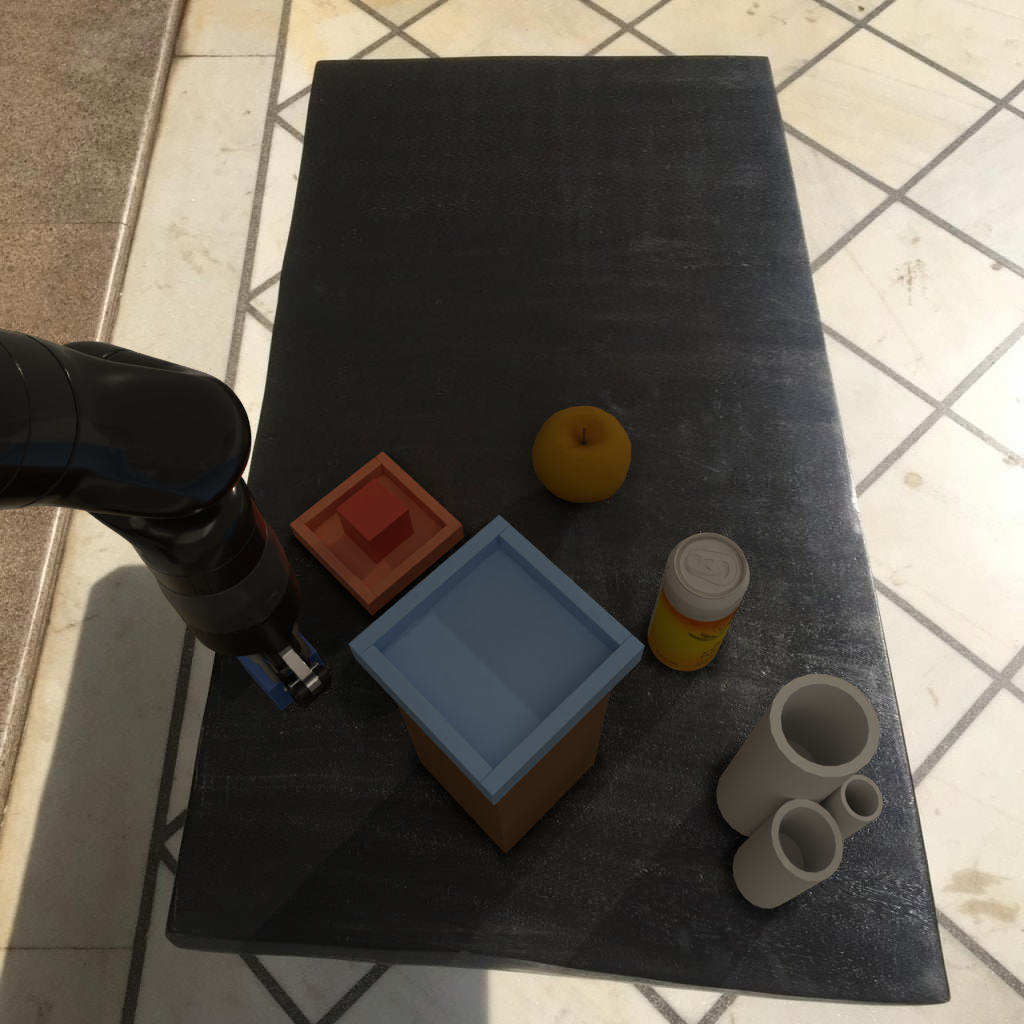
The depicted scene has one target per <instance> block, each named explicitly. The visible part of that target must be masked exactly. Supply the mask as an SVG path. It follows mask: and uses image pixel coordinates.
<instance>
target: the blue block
mask: <svg viewBox="0 0 1024 1024" xmlns="http://www.w3.org/2000/svg"><path fill="white" fill-rule="evenodd" d="M299 634H300V635H301V637H302V638H303V640H304V641H305V643H306V644H307V646H308V647H309V649H310V650H311V654H310V656H309V658H308V660H309V661H310V663H312V664H313V663H314V662H317V663H318V664H321V665H322V666H323V667H325V664H324V663H323V661H322V659H321V657H320V655H319V653H318V651H317V650H316V648H314V647H313V646H312V644H311V643H309V641H308V640H307V639H306V638H305V637H304V636H303V634H301V632H299ZM235 657H236V658H237V660H238V662H240V664H241V666H242V667H243V668H244V670H245V672H246V673H247V674H248V675H249V676H250V677H251V678H252V679H253V680H254V681H255V683H256V684H257V685H258V686H259V687H260V688H261V689H262V691H263V692H264V693H265V694H266V695H267V696H268V697H269V698H270V700H271V702H273V703H274V704H275V705H276V706H277V708H278V709H279V710H280V711H284V710H285V709H287V707H289V705H291V704H292V703H293V702H295V701H294V700H293V699H292V698H291V696H290V694H289V693H288V692H287V693H286V692H285V691H284V689H283V688H282V687H283V685H282V684H281V683H280V682H278V683H273V682H272V681H271V680H270V679H269V677H268V676H267V675H266V674H265V673H264V672H263V671H262V669H261V668H260V667H259V665H258V664H254V663H253V662H252V661H251V660H250V659H249V658H248V657H247V656H235ZM264 659H265V658H264ZM265 660H266V659H265ZM266 661H267V660H266ZM267 663H269V662H268V661H267ZM291 673H292V671H291V672H290V673H289V674H291ZM289 674H288V675H289ZM288 675H287V676H288Z"/></svg>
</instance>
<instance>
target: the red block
mask: <svg viewBox="0 0 1024 1024" xmlns="http://www.w3.org/2000/svg"><path fill="white" fill-rule="evenodd" d="M336 510H337V513H338V516H339V519H340V521H341V524H342V527H343V529H344V532H345V534H346V535H347V536H348V537H349V538H350V539H351V540H352V541H353V542H355V543H356V544H357V545H358V546H359V547H360V548H361V549H362V550H363V551H364V552H365V553H366V554H367V555H368V556H369V557H370V558H371V559H372V560H373V561H374V562H375V563H376V564H377V563H379V562H380V561H381V560H382V559H383V558H385V557H386V556H387V555H388V554H389V553H391V552H392V551H393V550H394V549H395V548H397V547H398V546H399V545H400V544H401V543H403V542H404V541H405V540H406V539H407V538H409V537H410V536H411V535H412V534H413V533H414V531H413V527H412V522H411V518H410V514H409V510H408V508H407V507H406V506H405V505H404V504H403V503H401V502H400V501H399V500H398V499H397V498H396V497H395V496H394V495H393V494H392V493H391V492H390V491H389V490H388V489H387V488H386V487H384V486H383V485H382V484H381V483H380V482H379V481H378V480H377V479H376V478H374V479H373V480H372V481H370V482H369V483H368V484H367V485H365V486H364V487H363V488H362V489H360V490H359V491H358V492H357V493H355V494H354V495H353V496H352V497H350V498H349V499H348V500H347V501H345V502H344V503H343V504H342V505H340V506H339V507H338V508H336Z"/></svg>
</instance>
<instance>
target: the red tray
mask: <svg viewBox="0 0 1024 1024" xmlns="http://www.w3.org/2000/svg"><path fill="white" fill-rule="evenodd" d="M374 478H376V479H377V480H378V481H379V482H380V483H381V484H382V485H383V486H384V487H386V488H387V489H388V490H389V491H390V492H391V493H392V494H393V495H394V496H395V497H396V498H397V499H398V500H399V501H400V502H401V503H403V504H404V505H405V506H406V507H407V508H408V510H409V514H410V518H411V522H412V527H413V531H414V533H413V534H412V535H411V536H410V537H409V538H407V539H406V540H405V541H404V542H403V543H401V544H400V545H399V546H398V547H397V548H395V549H394V550H393V551H392V552H391V553H389V554H388V555H387V556H386V557H385V558H383V559H382V560H381V561H380V562H379V563H377V564H376V563H375V562H374V561H373V560H372V559H371V558H370V557H369V556H368V555H367V554H366V553H365V552H364V551H363V550H362V549H361V548H360V547H359V546H358V545H357V544H356V543H355V542H353V541H352V540H351V539H350V538H349V537H348V536H347V535H346V534H345V532H344V529H343V527H342V524H341V521H340V519H339V516H338V513H337V510H336V508H338V507H339V506H340V505H342V504H343V503H344V502H345V501H347V500H348V499H349V498H350V497H352V496H353V495H354V494H355V493H357V492H358V491H359V490H360V489H362V488H363V487H364V486H365V485H367V484H368V483H369V482H370V481H372V480H373V479H374ZM463 526H464V525H463V524H462V523H461V522H460V521H459V520H458V519H457V518H456V517H455V516H454V515H453V514H452V513H450V512H449V511H448V510H447V509H446V508H445V507H444V506H443V505H441V504H440V503H439V501H437V500H436V499H435V498H434V497H433V496H432V495H431V494H430V493H429V492H428V491H426V489H424V488H423V487H422V486H421V485H420V484H419V483H418V482H417V481H416V480H415V479H414V478H413V477H411V475H409V474H408V473H407V472H406V471H405V470H404V469H403V468H402V467H401V466H399V464H398V463H396V462H395V461H394V460H393V459H392V458H391V457H390V456H389V455H387V453H385V451H381V452H380V453H378V454H377V455H375V457H373V458H372V459H371V460H369V461H368V462H367V463H365V464H364V465H363V466H361V467H360V468H359V469H358V470H357V471H355V472H354V473H353V474H352V475H350V476H349V477H348V478H347V479H345V480H344V481H343V482H342V483H340V484H338V485H337V487H335V488H333V490H331V491H330V492H329V493H327V494H326V495H325V496H323V497H322V498H321V499H320V500H318V501H317V502H316V503H315V504H313V505H312V506H310V508H308V509H307V510H306V511H305V512H303V513H302V514H301V515H299V516H298V517H297V518H295V519H294V520H293V521H292V522H291V523H289V527H290V528H291V531H292V533H293V535H294V537H295V538H296V539H297V540H298V541H299V543H301V545H303V546H304V547H305V549H307V551H308V552H309V553H310V554H311V555H313V557H314V558H315V559H316V560H317V561H318V562H319V563H320V564H321V565H322V566H323V567H324V568H325V569H326V570H327V571H328V573H330V574H331V575H332V576H333V577H334V578H335V579H336V580H337V581H338V582H339V583H340V585H342V586H343V587H344V588H345V590H346V591H348V593H349V594H351V596H352V597H354V599H355V600H356V601H357V602H358V603H359V605H361V606H362V607H363V608H364V609H365V610H366V611H367V612H368V613H369V614H370V615H371V616H374V615H375V614H376V613H377V612H379V611H380V610H381V609H382V608H383V607H384V606H385V605H387V604H388V603H389V602H390V601H391V600H392V599H394V598H395V597H396V596H398V595H399V593H401V592H402V591H403V590H405V588H406V587H408V586H409V585H410V584H411V583H412V582H414V581H415V580H416V579H417V578H418V577H420V576H421V575H422V574H423V573H424V572H425V571H426V570H428V569H429V568H430V567H431V566H432V565H434V564H435V563H437V562H438V560H440V559H441V558H442V557H443V556H444V555H445V554H447V553H448V552H449V551H450V550H451V549H452V548H454V547H455V546H456V545H457V544H458V543H459V542H460V541H462V540H463V539H464V538H465V534H464V527H463Z"/></svg>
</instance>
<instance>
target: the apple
mask: <svg viewBox="0 0 1024 1024" xmlns="http://www.w3.org/2000/svg"><path fill="white" fill-rule="evenodd" d="M531 460H532V466H533V470H534V473H535V475H536V476H537V478H538V479H539V481H540V483H541V484H542V485H543V487H544V488H546V489H547V490H548V491H549V492H550V493H552V494H553V495H554V496H555V497H558V498H559V499H561V500H564V501H567V502H570V503H577V504H583V503H584V504H591V503H596V502H601V501H604V500H608V499H609V498H611V497H612V496H614V495H615V494H616V493H617V492H618V491H619V489H620V488H621V487H622V485H623V483H624V482H625V481H626V478H627V474H628V471H629V468H630V466H631V465H630V464H631V461H632V442H631V440H630V438H629V435H628V433H627V432H626V430H625V429H624V426H623V425H622V424H621V423H620V421H618V419H617V418H616V417H615V416H614V415H612V414H611V413H609V412H607V411H605V410H603V409H602V408H600V407H597V406H589V405H578V406H577V405H576V406H570V407H567V408H565V409H561V410H559V411H556V412H554V413H553V414H552V415H551V416H550V417H549V418H548V419H546V420H545V421H544V423H543V424H542V425H541V427H540V428H539V431H538V433H537V435H536V437H535V439H534V443H533V446H532V449H531Z"/></svg>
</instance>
